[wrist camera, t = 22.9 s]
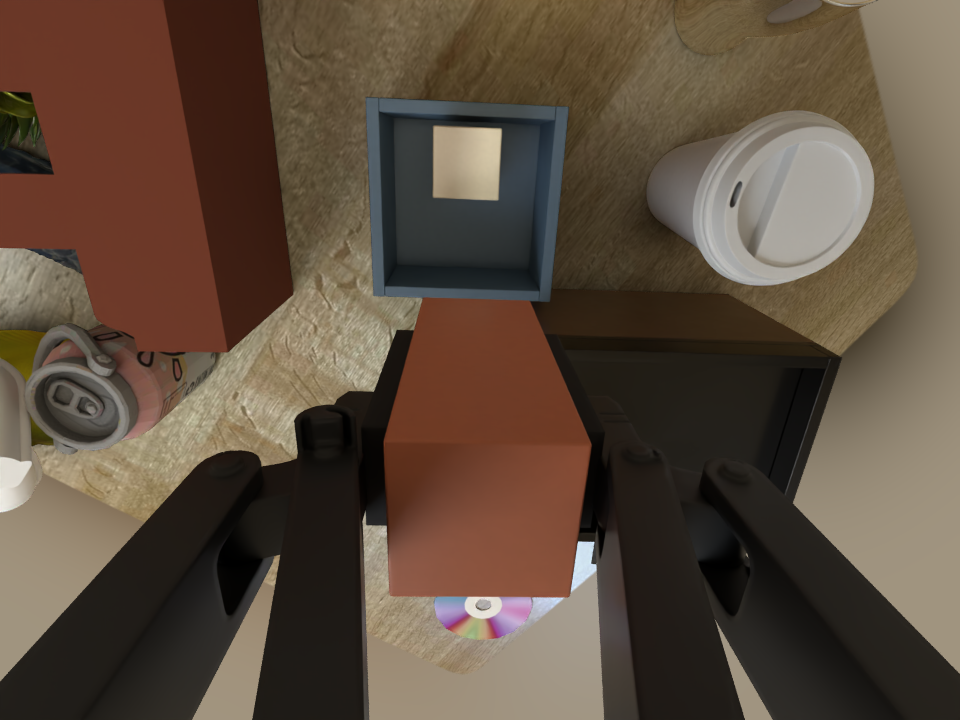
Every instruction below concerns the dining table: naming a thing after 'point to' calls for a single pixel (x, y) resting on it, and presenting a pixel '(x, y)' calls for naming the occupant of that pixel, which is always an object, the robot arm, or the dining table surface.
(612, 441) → the robot arm
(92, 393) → the beverage can
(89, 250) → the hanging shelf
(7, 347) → the fish
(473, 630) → the cd
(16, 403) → the sculpture
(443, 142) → the cream block
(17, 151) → the fish model
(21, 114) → the potted plant
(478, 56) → the dining table surface
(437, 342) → the terracotta block
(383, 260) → the bin
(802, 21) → the metal tumbler
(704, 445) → the pan
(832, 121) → the coffee cup
